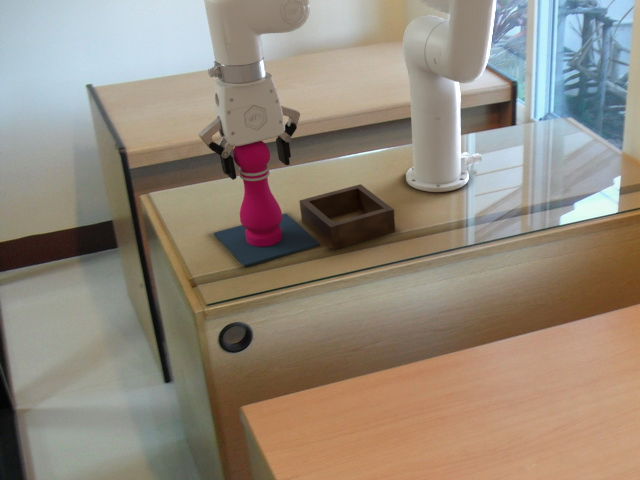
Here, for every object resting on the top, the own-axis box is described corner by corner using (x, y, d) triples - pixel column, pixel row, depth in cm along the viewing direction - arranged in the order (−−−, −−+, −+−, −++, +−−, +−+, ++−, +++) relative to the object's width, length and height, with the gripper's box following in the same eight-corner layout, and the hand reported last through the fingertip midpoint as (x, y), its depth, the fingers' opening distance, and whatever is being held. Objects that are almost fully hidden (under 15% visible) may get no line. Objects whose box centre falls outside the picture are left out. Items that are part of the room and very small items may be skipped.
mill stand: (362, 205, 179) (360, 184, 177) (395, 231, 171) (394, 209, 168) (301, 222, 173) (299, 200, 171) (332, 250, 165) (330, 227, 162)
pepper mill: (290, 231, 169) (276, 124, 158) (277, 250, 164) (261, 141, 152) (252, 227, 170) (235, 121, 158) (237, 246, 165) (218, 137, 153)
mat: (286, 215, 175) (285, 213, 175) (319, 245, 166) (319, 243, 166) (214, 235, 169) (213, 232, 169) (244, 267, 160) (244, 264, 159)
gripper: (197, 87, 143) (218, 190, 154) (301, 65, 151) (314, 164, 161) (180, 73, 148) (201, 174, 158) (281, 53, 156) (295, 150, 166)
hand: (258, 169), depth 160 cm, fingers open, 9 cm apart
